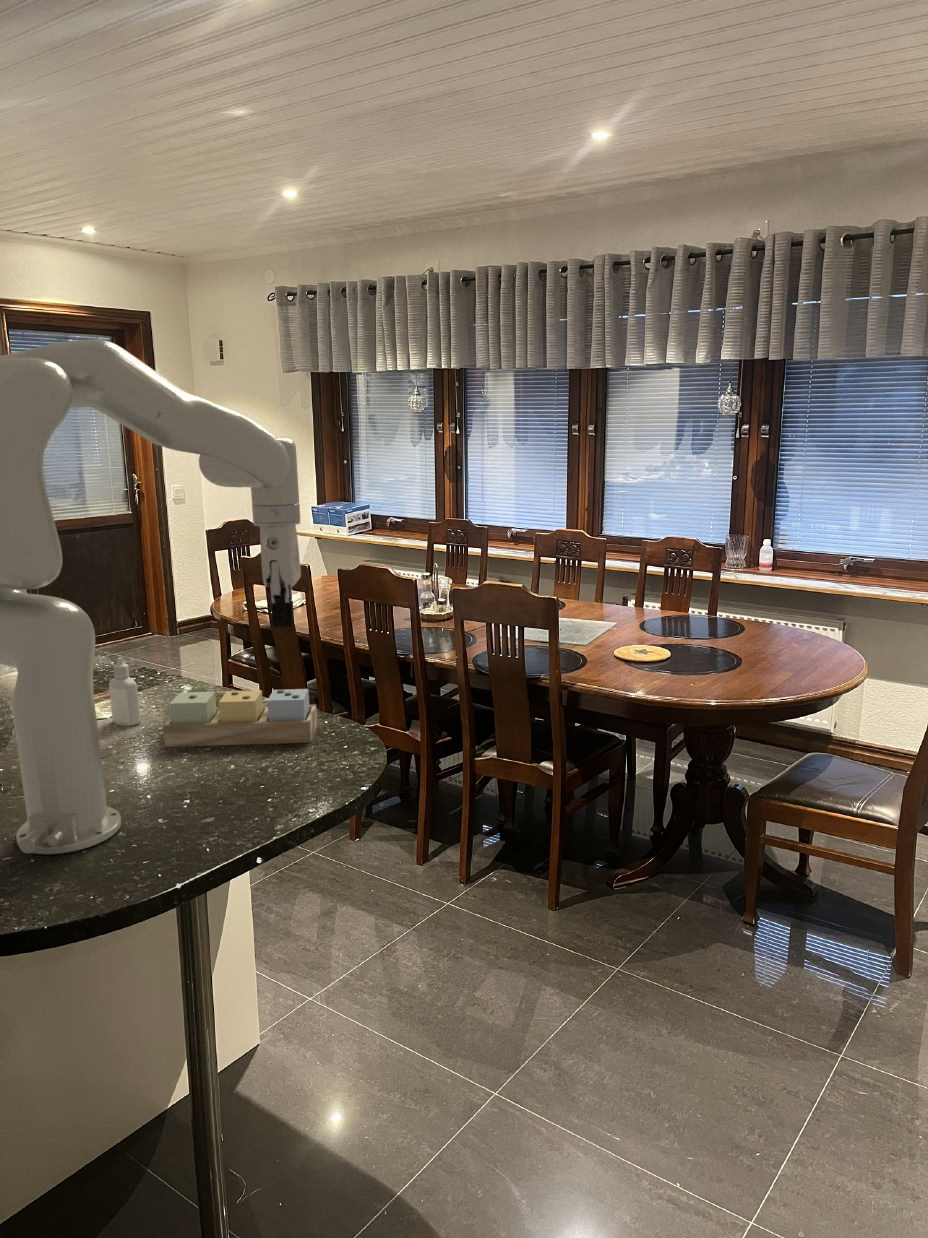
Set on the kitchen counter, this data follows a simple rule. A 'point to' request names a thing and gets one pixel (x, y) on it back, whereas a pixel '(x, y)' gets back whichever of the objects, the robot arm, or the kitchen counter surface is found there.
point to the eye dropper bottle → (124, 696)
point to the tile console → (241, 731)
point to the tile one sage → (193, 707)
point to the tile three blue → (288, 704)
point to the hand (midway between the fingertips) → (283, 625)
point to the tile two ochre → (241, 706)
